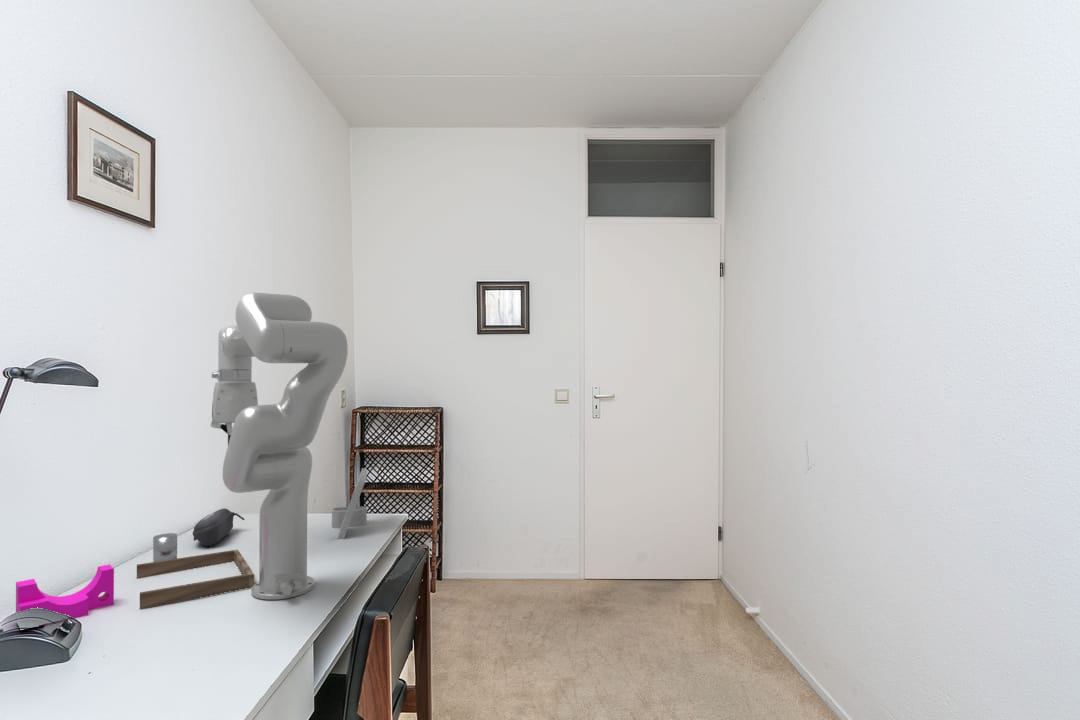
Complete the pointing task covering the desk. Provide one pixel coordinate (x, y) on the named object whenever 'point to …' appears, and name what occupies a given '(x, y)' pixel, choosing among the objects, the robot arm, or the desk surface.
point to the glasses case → (214, 527)
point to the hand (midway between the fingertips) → (234, 450)
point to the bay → (194, 589)
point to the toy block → (72, 603)
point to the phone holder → (351, 510)
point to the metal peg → (164, 547)
